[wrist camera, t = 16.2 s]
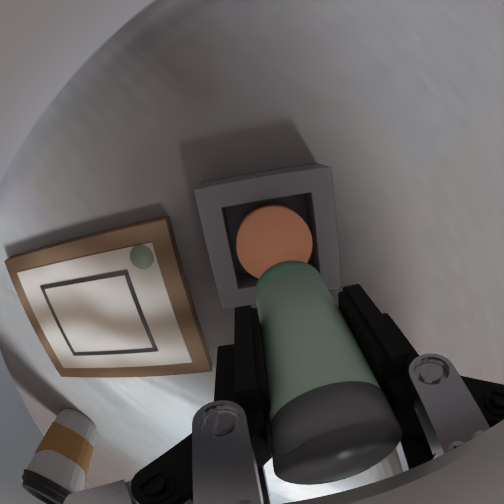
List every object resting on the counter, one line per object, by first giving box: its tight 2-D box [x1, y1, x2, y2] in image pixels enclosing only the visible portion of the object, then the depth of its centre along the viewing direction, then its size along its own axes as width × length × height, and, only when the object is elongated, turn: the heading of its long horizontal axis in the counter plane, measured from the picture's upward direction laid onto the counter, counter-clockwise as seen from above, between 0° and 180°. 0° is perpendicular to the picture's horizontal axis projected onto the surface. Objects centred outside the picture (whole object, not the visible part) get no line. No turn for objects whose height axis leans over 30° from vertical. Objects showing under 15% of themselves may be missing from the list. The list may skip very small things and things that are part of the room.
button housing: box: [194, 164, 341, 310], centre depth 22 cm, size 9×9×3 cm
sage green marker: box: [255, 260, 402, 485], centre depth 9 cm, size 3×3×8 cm
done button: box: [236, 203, 313, 279], centre depth 20 cm, size 5×5×2 cm
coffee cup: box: [22, 409, 97, 504], centre depth 25 cm, size 8×8×15 cm
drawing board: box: [5, 216, 212, 377], centre depth 25 cm, size 15×19×1 cm
